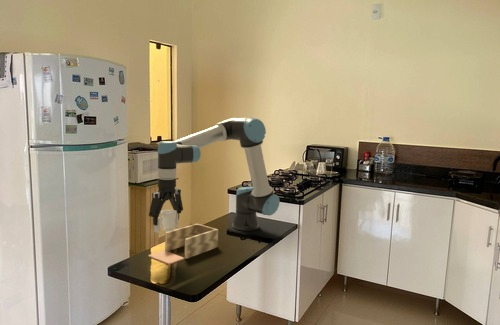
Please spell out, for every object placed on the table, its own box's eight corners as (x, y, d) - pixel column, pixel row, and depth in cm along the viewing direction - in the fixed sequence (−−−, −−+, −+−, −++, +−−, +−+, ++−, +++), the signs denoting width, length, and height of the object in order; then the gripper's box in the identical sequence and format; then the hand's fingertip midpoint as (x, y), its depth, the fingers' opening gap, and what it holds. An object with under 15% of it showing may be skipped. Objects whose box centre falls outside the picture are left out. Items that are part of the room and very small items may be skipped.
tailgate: (164, 249, 174) (148, 255, 167) (185, 257, 166) (169, 263, 159) (164, 252, 174) (148, 257, 167) (185, 260, 166) (169, 266, 159)
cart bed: (196, 242, 191) (197, 223, 189) (217, 249, 182) (218, 229, 181) (165, 253, 175) (165, 232, 174) (186, 261, 166) (186, 239, 165)
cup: (179, 228, 168) (180, 210, 167) (168, 234, 159) (168, 215, 158) (165, 226, 170) (165, 208, 170) (153, 232, 161) (153, 213, 160)
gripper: (180, 174, 173) (179, 223, 176) (139, 179, 155) (139, 233, 158) (192, 176, 168) (191, 226, 171) (151, 182, 151) (151, 237, 154)
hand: (166, 229), depth 165 cm, fingers closed on cup, 9 cm apart
